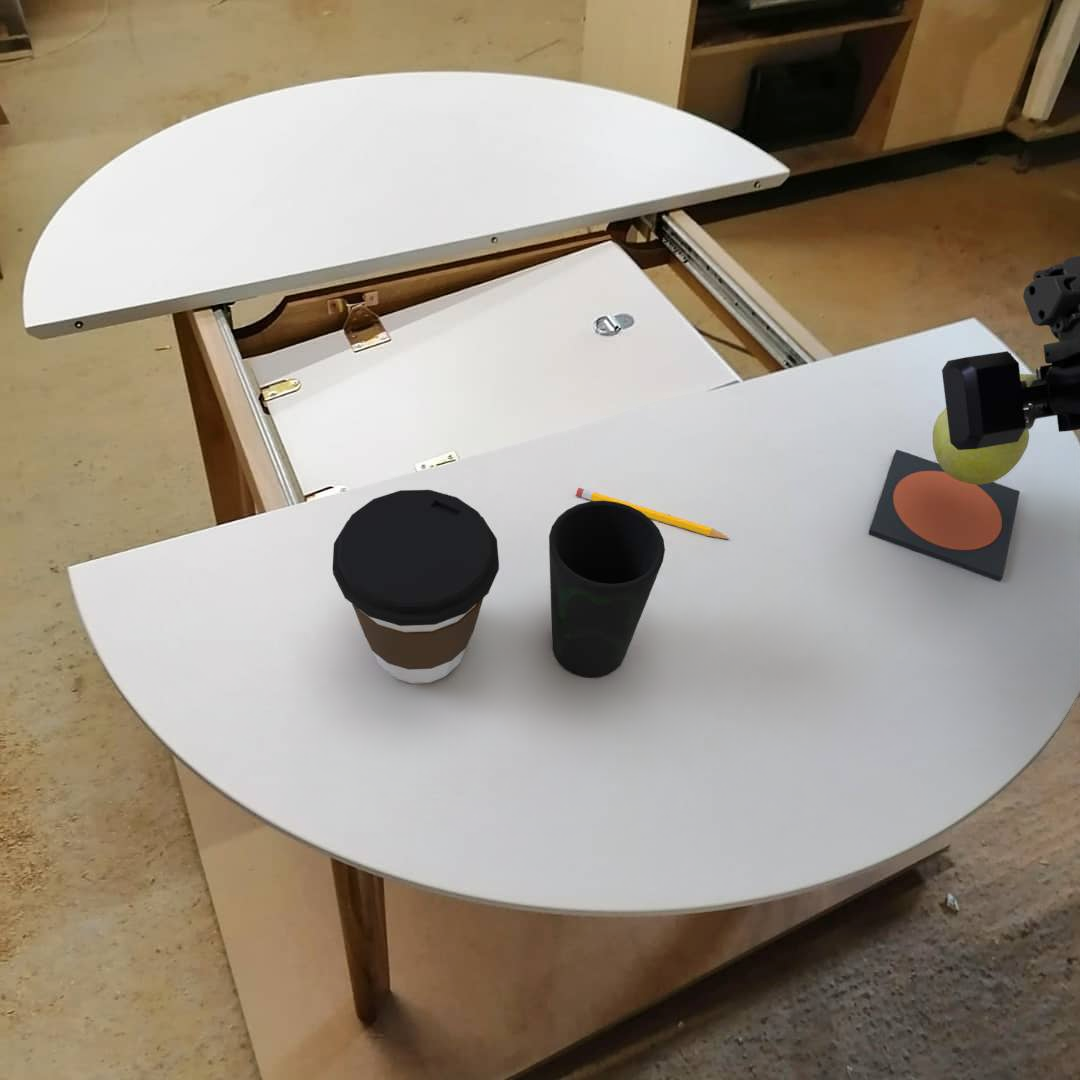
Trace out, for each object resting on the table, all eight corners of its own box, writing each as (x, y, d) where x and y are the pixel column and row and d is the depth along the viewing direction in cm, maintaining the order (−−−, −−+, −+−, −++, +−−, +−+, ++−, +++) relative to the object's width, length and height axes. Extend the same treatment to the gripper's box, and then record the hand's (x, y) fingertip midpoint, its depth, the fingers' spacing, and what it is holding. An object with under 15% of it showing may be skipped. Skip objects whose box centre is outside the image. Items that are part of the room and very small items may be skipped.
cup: (641, 612, 78) (666, 506, 69) (638, 696, 73) (664, 594, 64) (542, 600, 78) (554, 493, 69) (532, 683, 73) (543, 579, 64)
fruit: (913, 439, 85) (963, 322, 75) (1003, 444, 84) (1064, 327, 75) (930, 497, 80) (985, 379, 71) (1024, 502, 80) (1091, 385, 71)
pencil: (578, 491, 86) (579, 485, 85) (730, 538, 84) (732, 532, 83) (575, 497, 85) (576, 492, 85) (728, 544, 83) (730, 539, 83)
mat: (1017, 495, 89) (1020, 490, 88) (1000, 581, 82) (1003, 576, 82) (894, 453, 91) (896, 448, 91) (867, 534, 85) (870, 528, 84)
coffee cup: (399, 570, 79) (392, 461, 70) (521, 629, 76) (530, 523, 67) (314, 670, 72) (294, 564, 63) (443, 739, 69) (442, 638, 60)
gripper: (1264, 231, 65) (1079, 280, 80) (1017, 261, 60) (871, 307, 75) (1279, 404, 66) (1094, 420, 81) (1037, 446, 61) (889, 454, 76)
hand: (990, 397), depth 78 cm, fingers closed on fruit, 5 cm apart
